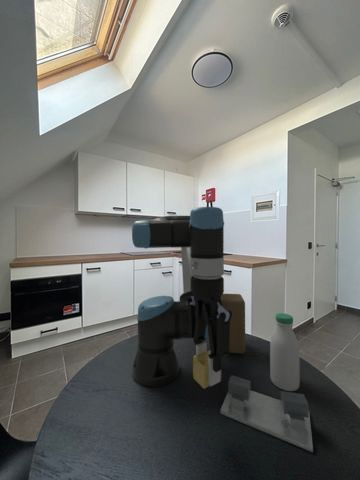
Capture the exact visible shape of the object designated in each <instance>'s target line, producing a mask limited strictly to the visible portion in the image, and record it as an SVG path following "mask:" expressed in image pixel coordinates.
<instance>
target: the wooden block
mask: <svg viewBox="0 0 360 480" xmlns="http://www.w3.org/2000/svg"><path fill="white" fill-rule="evenodd" d="M221 301H222V307H223V308H224V309H225V310H226V311H231V312H232V317H231V320H230V340H229V354H230V353H231V354H245V353H246V302H245V300H244V298H243V295H242V294H241V293H223V294H222V296H221Z"/></svg>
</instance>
